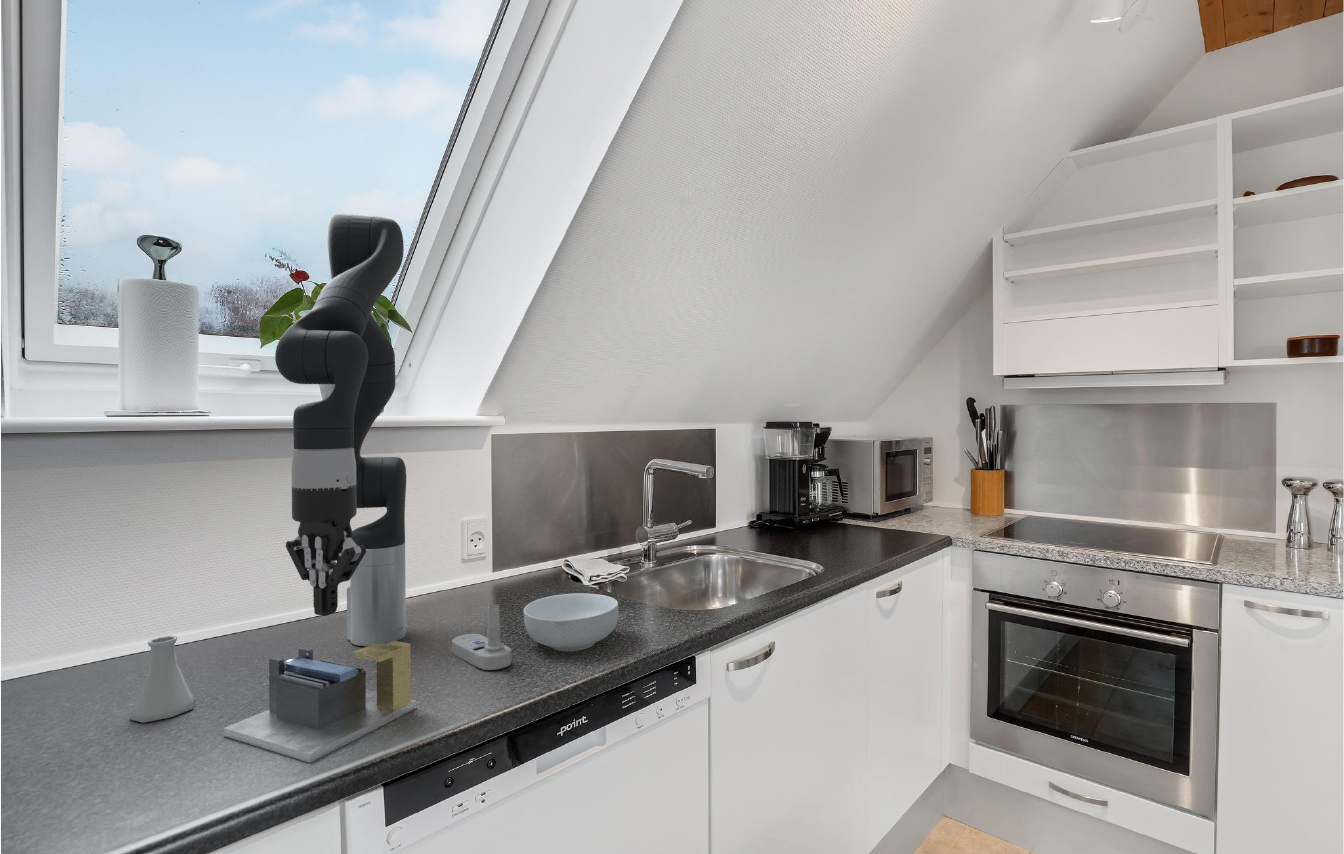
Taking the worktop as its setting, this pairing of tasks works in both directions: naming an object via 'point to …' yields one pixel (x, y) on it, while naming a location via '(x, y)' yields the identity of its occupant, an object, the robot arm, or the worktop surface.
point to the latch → (390, 673)
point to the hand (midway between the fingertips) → (325, 613)
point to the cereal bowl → (571, 620)
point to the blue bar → (319, 669)
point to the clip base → (309, 737)
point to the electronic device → (484, 645)
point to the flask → (162, 685)
